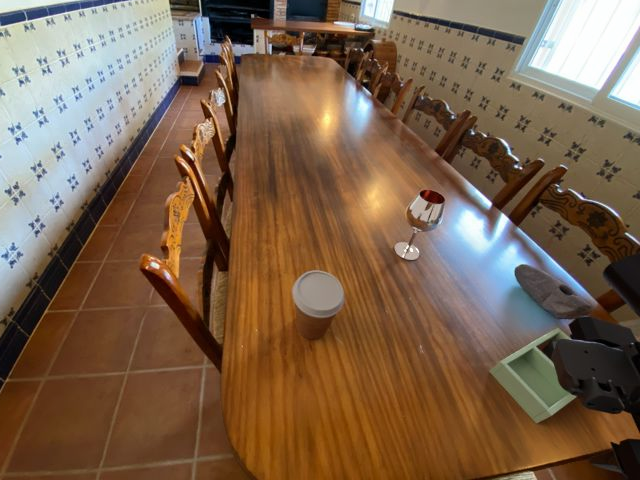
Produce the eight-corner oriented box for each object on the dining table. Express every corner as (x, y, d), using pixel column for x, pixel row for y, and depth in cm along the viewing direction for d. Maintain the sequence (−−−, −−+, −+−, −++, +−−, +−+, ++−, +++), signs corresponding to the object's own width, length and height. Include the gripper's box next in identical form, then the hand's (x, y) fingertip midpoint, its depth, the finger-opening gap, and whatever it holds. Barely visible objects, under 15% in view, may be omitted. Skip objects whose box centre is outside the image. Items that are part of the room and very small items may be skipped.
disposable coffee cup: (286, 305, 63) (290, 269, 56) (329, 303, 64) (339, 267, 57) (290, 349, 56) (295, 314, 48) (339, 346, 57) (352, 311, 50)
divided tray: (593, 380, 55) (610, 371, 53) (536, 423, 49) (552, 415, 47) (544, 337, 62) (557, 327, 59) (488, 371, 55) (500, 361, 53)
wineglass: (428, 260, 76) (459, 205, 65) (401, 265, 74) (427, 209, 63) (411, 238, 82) (436, 184, 71) (385, 242, 80) (406, 188, 69)
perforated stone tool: (502, 276, 74) (518, 257, 69) (518, 272, 75) (534, 253, 71) (560, 330, 63) (583, 312, 58) (577, 324, 64) (601, 306, 60)
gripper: (565, 271, 37) (499, 334, 47) (641, 442, 23) (526, 479, 33) (676, 302, 34) (581, 362, 44) (835, 516, 21) (646, 532, 31)
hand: (579, 421), depth 38 cm, fingers open, 9 cm apart
